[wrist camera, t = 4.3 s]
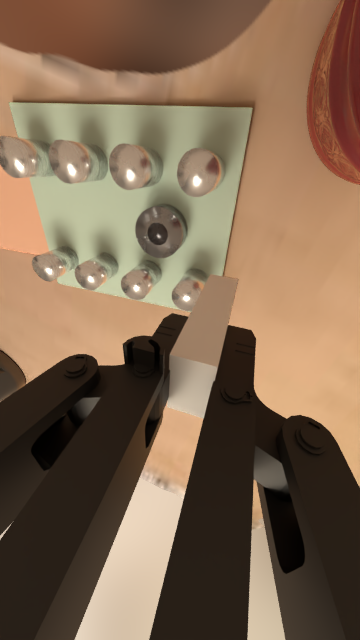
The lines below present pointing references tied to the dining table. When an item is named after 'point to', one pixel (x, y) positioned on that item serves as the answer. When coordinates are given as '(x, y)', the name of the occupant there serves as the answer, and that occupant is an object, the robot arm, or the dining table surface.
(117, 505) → the robot arm
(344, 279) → the dining table surface
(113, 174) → the spacers
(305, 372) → the dining table surface
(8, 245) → the tile
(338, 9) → the canister
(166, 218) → the dark grey disc
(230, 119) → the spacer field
